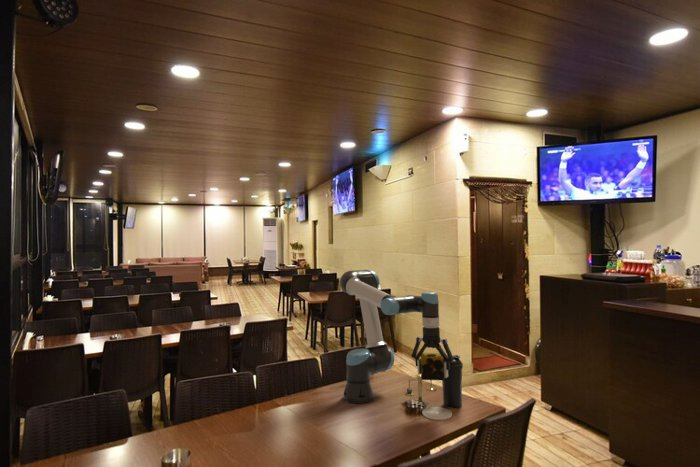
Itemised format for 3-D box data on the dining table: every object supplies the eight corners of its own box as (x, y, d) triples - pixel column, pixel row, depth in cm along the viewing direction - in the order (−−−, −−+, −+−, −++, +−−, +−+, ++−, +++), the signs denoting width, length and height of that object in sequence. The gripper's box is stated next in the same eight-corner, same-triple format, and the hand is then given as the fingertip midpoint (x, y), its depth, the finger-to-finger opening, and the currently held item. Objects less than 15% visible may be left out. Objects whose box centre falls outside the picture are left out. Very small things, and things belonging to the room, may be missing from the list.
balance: (402, 403, 200) (402, 374, 201) (406, 399, 205) (406, 371, 205) (434, 409, 192) (434, 378, 193) (438, 405, 196) (437, 376, 197)
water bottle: (466, 409, 192) (464, 358, 193) (443, 409, 192) (442, 358, 193) (460, 401, 202) (459, 353, 203) (439, 401, 202) (438, 353, 203)
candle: (444, 374, 191) (443, 352, 191) (445, 380, 181) (444, 357, 181) (421, 374, 192) (420, 352, 193) (421, 380, 182) (420, 357, 183)
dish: (418, 416, 184) (418, 413, 184) (428, 407, 195) (428, 404, 195) (446, 422, 177) (446, 419, 177) (455, 412, 188) (455, 409, 188)
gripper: (403, 326, 191) (404, 374, 190) (454, 329, 179) (456, 381, 177) (409, 324, 198) (411, 370, 196) (459, 327, 185) (461, 376, 183)
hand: (432, 375), depth 187 cm, fingers closed on candle, 12 cm apart
